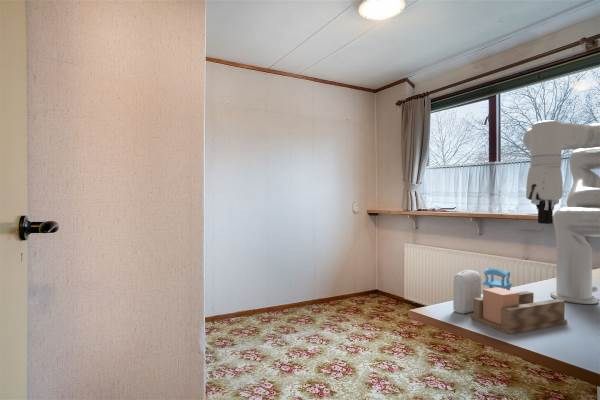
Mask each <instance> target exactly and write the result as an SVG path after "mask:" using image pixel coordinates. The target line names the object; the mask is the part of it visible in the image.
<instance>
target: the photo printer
mask: <svg viewBox="0 0 600 400" xmlns="http://www.w3.org/2000/svg"><path fill="white" fill-rule="evenodd" d="M452 292H453V299H452V300H453V301H452V302H453V306H452V307H453V311H454V312H456V313H459V314H468V313H471V312H473V298H480V297H482V276H481V275H480V272H478V271H476V270H475V269H474V270H473V269H472V270H471V269H464V270H462V271H459V272H457V273H456V275H455V276H453V291H452Z"/></svg>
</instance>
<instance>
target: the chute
mask: <svg viewBox="0 0 600 400" xmlns="http://www.w3.org/2000/svg"><path fill="white" fill-rule="evenodd" d="M516 292H517V293H519V305H515V306H509V307H502V308H501V325H500V324H497V323H495V322H492V321H490V320H487V319H485V318H483V296H481V297H480V298H473V311H472V313H473V314H471V315H470V316H471V317H470V318H471V319H472V320H473V321H477V322H478V323H481V324H483V325H486V326H489V327H490V328H494V329H496V330H498V331H501V332H504V333H506V334H509V335H515V334H520V333H525V332H530V331H537V330H540V329H545V328H550V327H551V328H552V327H555V326H562V325H566V324H568V319H566V318H565V308H566V307H565V305H566V304H565V303H566V301H563V300H559V299H556V298H553V299H547V300H542V301H535V302H534V292H531V291H527V290H526V291H525V290H524V291H516Z"/></svg>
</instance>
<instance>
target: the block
mask: <svg viewBox="0 0 600 400" xmlns="http://www.w3.org/2000/svg"><path fill="white" fill-rule="evenodd" d="M517 292H518V291H514V290H513V291H512V290H511V289H510V290H506V289H503V288H499V287H493V288H490V287H488V288H483V289H482V297H483V318H485V319H487V320H490V321H492V322H495V323H497V324H500V325H501V308H502V307H509V306H515V305H519V293H517Z"/></svg>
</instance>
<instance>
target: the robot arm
mask: <svg viewBox="0 0 600 400" xmlns="http://www.w3.org/2000/svg"><path fill="white" fill-rule="evenodd" d="M522 141H523V145H524V147H525V148H526V149H527V150H528V151H530V167H529V168H528V173H527V177H526V188H525V189H526V190H525V191H526V192H525V196H526V197H525V198H526V199H527V200H528V201H529V200H530V204H533V205H535V206H536V210H537V222H538V224H546V225H551V224H553V226H554V231H555V232H554V233H555V239H556V242H555V244H556V253H555V254H556V259H555V260H556V261H555V262H556V265H555V266H556V269H555V270H556V273H555V274H556V275H555V277H556V278H555V280H556V281H555V288H556V289H555V290H552V291H550V296H551V297H552V298H553V299H559V300H563V301H565V302H568V303H573V304H579V305H580V304H582V305H583V304H584V305H595V304H598V303H599V299H598V298H597V297H596V296H593V293H596V292H598V290H599V289H598V287H596V286H595V285H593V249H592V247H591V245H590V243H589V242H588V241H587V239H585V237H599V238H600V175H598V174H597V173H596V172H594V171H592V170H600V122H596V123H590V124H580V123H572V122H561V121H559V120H554V119H553V120H552V119H550V120H548V119H547V120H541V121H537V122H535V123H533V124H532V125H531V127H530V128H528V129H527V130H526V131H525V132H524V134H523V137H522ZM565 150H567V151H568V150H573V151H572V152H570V155H569V157H568V163H569V169H570V174H571V175H572V176H571V177H572V179H573V184H572V186H571V188H570V191H569V193H568V196H567V198H566V207H562V208H559V209H557V210H556V211H555V212H554V214H553V211H554V210H555V206H556V205H558V204H560V200H561V199H562V198H563V191H564V190H563V188H564V187H563V185H564V184H563V174H562V151H565Z"/></svg>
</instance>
